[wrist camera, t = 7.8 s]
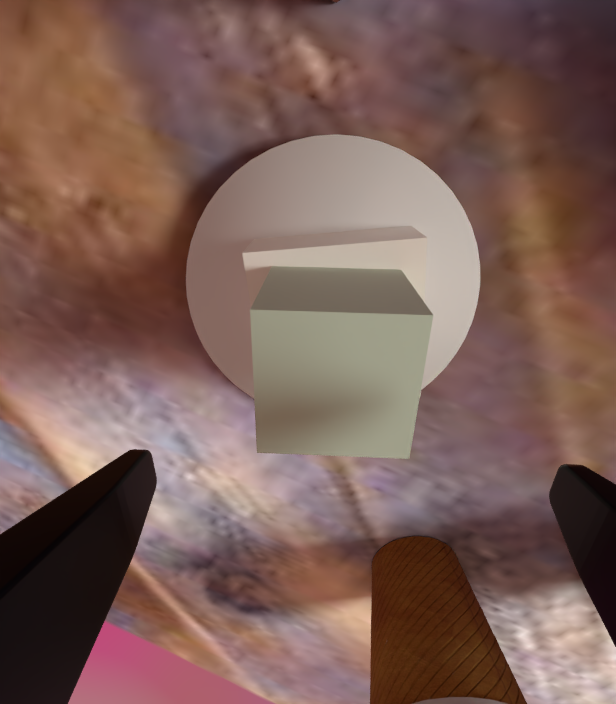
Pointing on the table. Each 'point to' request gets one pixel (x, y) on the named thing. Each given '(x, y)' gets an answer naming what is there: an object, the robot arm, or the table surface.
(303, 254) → the cream block
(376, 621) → the disposable coffee cup
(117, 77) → the table surface
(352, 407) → the green cube
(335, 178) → the white plate
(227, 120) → the table surface
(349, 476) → the table surface
